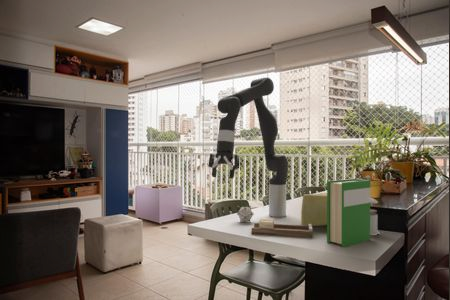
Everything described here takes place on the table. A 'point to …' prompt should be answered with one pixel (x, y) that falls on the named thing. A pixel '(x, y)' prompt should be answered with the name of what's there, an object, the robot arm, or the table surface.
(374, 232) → the french press
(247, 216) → the grey bumpy ball
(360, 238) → the hardback book
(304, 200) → the cheese
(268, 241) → the table surface
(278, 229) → the chute
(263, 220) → the maple block
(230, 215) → the table surface
